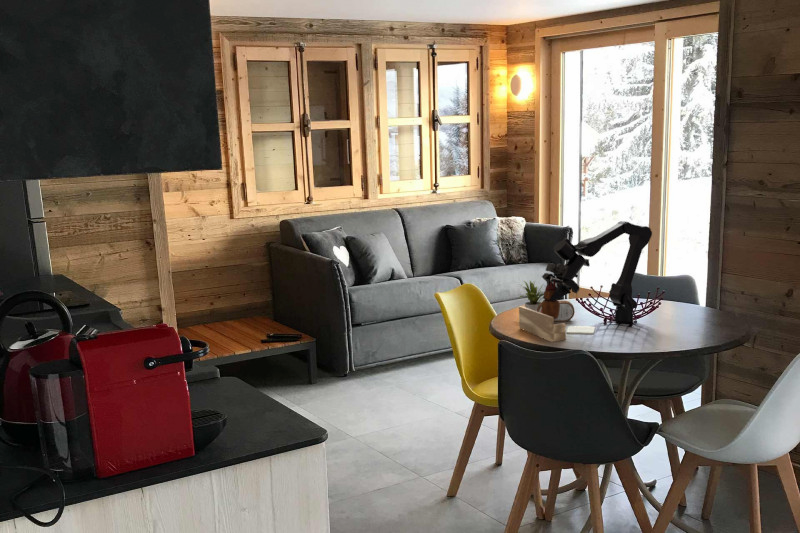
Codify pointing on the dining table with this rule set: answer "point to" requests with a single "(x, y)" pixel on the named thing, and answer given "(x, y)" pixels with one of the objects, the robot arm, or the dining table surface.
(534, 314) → the shelf bay
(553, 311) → the wooden figurine
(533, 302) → the house plant
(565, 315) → the tin
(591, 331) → the board
